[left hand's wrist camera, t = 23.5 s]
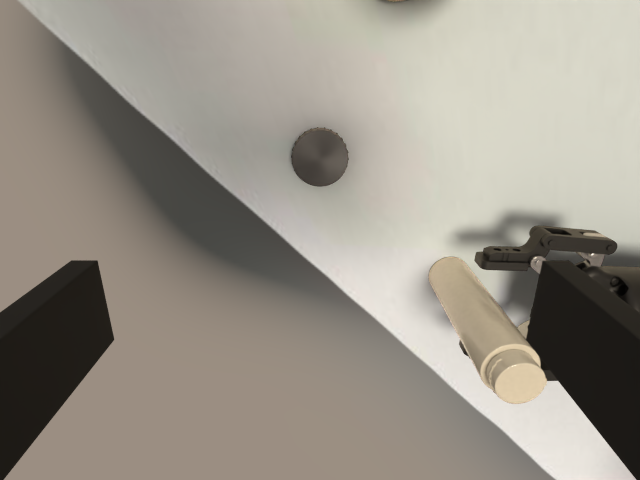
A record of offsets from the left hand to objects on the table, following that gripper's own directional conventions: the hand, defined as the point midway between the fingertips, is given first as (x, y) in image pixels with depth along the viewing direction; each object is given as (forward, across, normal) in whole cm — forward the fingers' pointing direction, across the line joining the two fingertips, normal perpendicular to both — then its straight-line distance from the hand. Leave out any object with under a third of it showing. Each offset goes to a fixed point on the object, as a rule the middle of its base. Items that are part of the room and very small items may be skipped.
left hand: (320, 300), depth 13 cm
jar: (+27, +13, -12) cm, 33 cm away
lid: (+26, 0, 0) cm, 26 cm away
